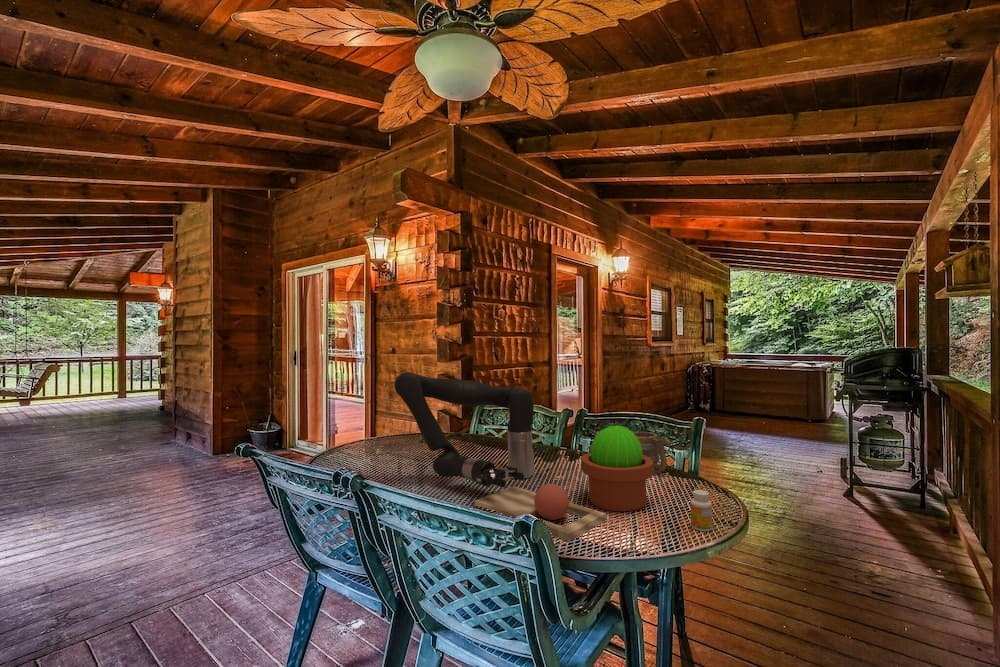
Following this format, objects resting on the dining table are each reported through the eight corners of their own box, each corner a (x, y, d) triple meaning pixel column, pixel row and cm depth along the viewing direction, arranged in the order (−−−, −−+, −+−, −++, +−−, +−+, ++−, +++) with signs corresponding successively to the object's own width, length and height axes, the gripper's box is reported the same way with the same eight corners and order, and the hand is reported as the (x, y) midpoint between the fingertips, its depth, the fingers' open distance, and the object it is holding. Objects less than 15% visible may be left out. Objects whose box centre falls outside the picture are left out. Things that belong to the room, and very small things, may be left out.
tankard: (620, 468, 183) (619, 430, 183) (645, 464, 188) (644, 427, 188) (655, 482, 165) (654, 440, 165) (682, 477, 170) (681, 437, 170)
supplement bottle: (687, 524, 129) (686, 489, 129) (705, 523, 130) (705, 488, 130) (697, 532, 124) (696, 496, 124) (716, 531, 124) (715, 495, 124)
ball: (577, 487, 135) (573, 520, 135) (550, 476, 142) (546, 508, 142) (556, 494, 127) (552, 529, 128) (529, 482, 134) (525, 515, 135)
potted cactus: (667, 512, 138) (665, 428, 138) (597, 518, 135) (595, 432, 134) (634, 488, 160) (632, 415, 160) (573, 492, 156) (571, 418, 156)
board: (513, 491, 158) (513, 486, 158) (606, 520, 133) (605, 513, 133) (474, 506, 145) (474, 500, 145) (569, 541, 120) (569, 533, 120)
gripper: (462, 464, 152) (498, 474, 140) (492, 455, 162) (528, 463, 151) (463, 487, 152) (499, 498, 141) (493, 476, 162) (529, 486, 151)
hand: (514, 480), depth 146 cm, fingers open, 8 cm apart
